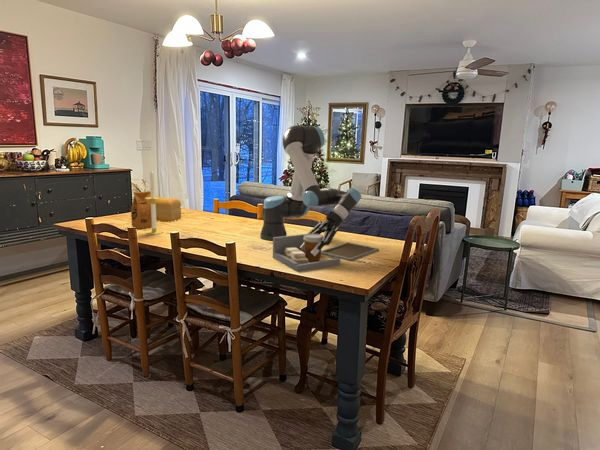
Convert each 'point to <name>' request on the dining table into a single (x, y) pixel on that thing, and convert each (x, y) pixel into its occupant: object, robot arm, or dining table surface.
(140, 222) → the coffee package
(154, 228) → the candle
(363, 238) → the dining table surface
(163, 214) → the bread
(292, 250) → the offcut stack
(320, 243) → the robot arm
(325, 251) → the empty picture frame
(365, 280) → the dining table surface
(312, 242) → the disposable coffee cup
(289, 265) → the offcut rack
